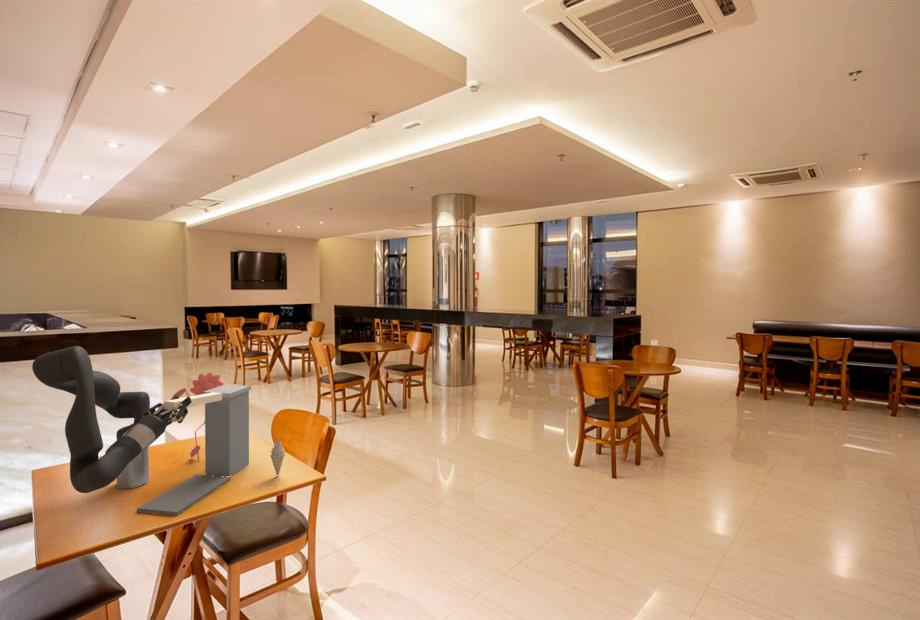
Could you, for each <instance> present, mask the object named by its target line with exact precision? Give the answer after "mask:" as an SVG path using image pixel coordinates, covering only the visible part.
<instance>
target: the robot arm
mask: <svg viewBox="0 0 920 620" xmlns="http://www.w3.org/2000/svg"><path fill="white" fill-rule="evenodd" d="M31 366H32V368H31V369H32V372H33V374H34V376H35V378H37V380H38V381H39V382H40V383H42V384H44V386H47V387H49V388H53V389H56V390H60V391H63V392H67V393H69V394H71V395H74V396H75V398H74V402H73V403H72V406H71V408H70V411H69V413H68V415H67V417H66V420H65V426H64V435H65V439H66V442H67V446H68V450H69V453H70V458H69V459H70V460H69V479H70V483H71V485H72V487H73V489H74V490H75V491H77V492H78V493H81V494H89V493H92V492H95V491H97V490H101V489H103V488H106V487H107V486H109V485H110V484H111V483H113V482H115V480H116V489H117V490H120V489H124V490H125V489H133V488H137V487H141V486H143V484H144V485H145V484H147V483H148V482H149V480H150V472H149V471H150V469H149V467H150V465H149V462H150V461H149V460H150V459H149V458H150V457H149V447H150V446H152V444H153V443H155V441H156V440H158V439H159V438H160V437H161V436H162V435H163V434H164V433H165V432H166V429H167V427H168V426H169V425H171V424H173V423H176V422H177V423H178V424H181V423H183V421H184V420H185V418H186V416H187V415H188V413H189V410H188V407H187V406H188V405H189V404H190V403H191V398H190V397H188V396H186V397H187V398H185V397H184V398H185V399H184V400H183V401H182V402H181V403H180V404H179V405H177V406H176V407H172V408H170V409H169V410H168V409H164V403H161V402H158V403H157V404H155V405H153V406H151V399H150V395H149V394H148V392H146V391H121V385H120V383H119V381H118V380H116V378H114V377H112V376H111V375H110V374H107V373H105V372H104V371H97V370H93V366H92V360H91V357H90V355H89V353H88V351H86V349H84V347H82V346H79V345H74V346H70V347H65V348H61V349H58V350H54V351H50V352H46V353H43V354H41V355H38V356H37V357H36V358H35V359H34V360H33V362H32V365H31ZM172 397H173V396H172ZM172 397H171V399H169V400H174V399H179V398H180V397H178V396H174V397H173V398H172ZM96 406H97V407H99V408H101V409H102V410H104V411H105V412H106V413H107V414H109V416H111V417H113V418H114V419H115V418H116V419H133V423H132V424H129V425H125V426H124V427H121V428H119V429H118V430H117V431H116V435H115V436H116V440H115V441H114V442H113V443H112V444H111V445H109V447H108V448H107V449H106V450H105V453H104V455H102V456H101V457H100V458H99V453H100V452H101V451H102V450H103V448H104V442H103V437H102V433H101V430H100V426H99V421H98V417H97V416H98V415H97V408H96ZM150 406H151V407H150Z"/></svg>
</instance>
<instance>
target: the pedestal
mask: <svg viewBox="0 0 920 620" xmlns="http://www.w3.org/2000/svg"><path fill="white" fill-rule="evenodd" d="M251 390H252V387H251V385H243V384H242V385H241V384H239V385H238V384H223V385H222V386H219V387H216V388H213V389H210V390H207V391H204V392H203V394H207V393H212V392H214V393H222V400H220V401H215V402H210V403H206V404H204V415H205V416H204V421H205V424H204V430H205V431H204V435H205V436H204V438H205V439H204V444H205V445H204V447H205V448H204V452H205V453H204V454H205V455H204V456H205V457H204V458H205V460H204V461H205V462H204V463H205V472H204V475H210V476H211V475H214V476H231V475H232V476H234V475H235V474H237V473H238V472H240V471H241V470H240V469H242V468H243V469H245V468H246V467H248V466H249V465H248V464H250V391H251ZM247 465H248V466H247ZM245 466H246V467H245ZM244 467H245V468H244ZM243 469H242V470H243ZM239 470H240V471H239ZM237 471H238V472H237ZM236 472H237V473H236ZM234 473H235V474H234ZM233 474H234V475H233ZM232 476H231V477H232Z"/></svg>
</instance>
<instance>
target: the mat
mask: <svg viewBox="0 0 920 620" xmlns="http://www.w3.org/2000/svg"><path fill="white" fill-rule="evenodd" d="M229 480H230V481H231V477H222V476H211V475H205V474H198V473H195V474H194V475H192V476H191V477H189V478H187V479H185V480H184V481H182V482H180V483H178V484H176V485H175V486H173V487H171V488H169V489H168V490H166V491H164V492H162V493H161V494H159V495H157V496H155V497H154V498H152V499H151V500H149V501H147V502H145V503H144V504H142V505H140V506H138V507H137V508H136V512H137V513H143V512H146V513H145V514H153V513H156V514H155V515H163V514H164V515H165V516H173V515H176V516H175V517H178V516H179V515H181V514H182V513H184V512H185V511H186V509H187V508H188V509H190V508H191V507H193V506H194V505H196V504H197V503H199V502H200V501H202V500H203V499H205V498H206V497H208V496H209V495H211V494H212V493H214V492H215V491H217V490H218V489H219V488H218V487H220V486H221V485H223V484H224V483H226V482H227V481H229ZM230 481H229V482H230ZM227 483H228V482H227ZM227 483H226V484H227ZM224 485H225V484H224ZM224 485H223V486H224ZM221 487H222V486H221ZM221 487H220V488H221ZM217 488H218V489H217ZM216 489H217V490H216ZM214 490H215V491H214ZM213 491H214V492H213ZM211 492H212V493H211ZM210 493H211V494H210ZM208 494H209V495H208ZM207 495H208V496H207ZM205 496H206V497H205ZM204 497H205V498H204ZM202 498H203V499H202ZM201 499H202V500H201ZM199 500H200V501H199ZM198 501H199V502H198ZM196 502H197V503H196ZM195 503H196V504H195ZM193 504H194V505H193ZM192 505H193V506H192ZM190 506H191V507H190ZM189 507H190V508H189ZM188 509H187V510H188ZM183 511H184V512H183ZM180 513H181V514H180ZM177 515H178V516H177Z"/></svg>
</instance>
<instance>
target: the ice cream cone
mask: <svg viewBox="0 0 920 620" xmlns="http://www.w3.org/2000/svg"><path fill="white" fill-rule="evenodd" d="M285 452H286V451H285V448H284V446H282V442H281V441H280V439H279V437H277V438H276V440H275V442H274V444H273V448H271V451H270V453H271V454H270V458H271V462H272V465H273V468H274V471H275V474H276V476H277V475H278V476H279V475H280V472H281V468H282V465H283V461H284V457H285V455H286V453H285Z"/></svg>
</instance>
